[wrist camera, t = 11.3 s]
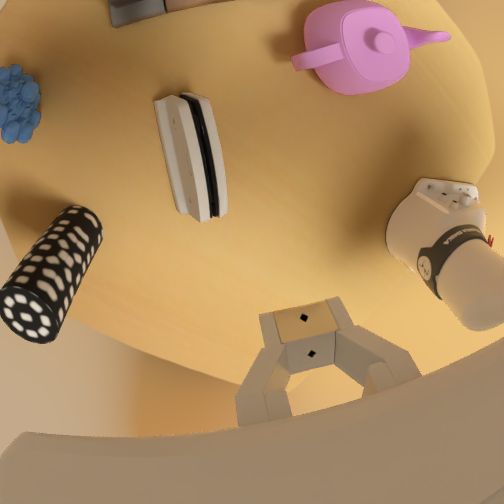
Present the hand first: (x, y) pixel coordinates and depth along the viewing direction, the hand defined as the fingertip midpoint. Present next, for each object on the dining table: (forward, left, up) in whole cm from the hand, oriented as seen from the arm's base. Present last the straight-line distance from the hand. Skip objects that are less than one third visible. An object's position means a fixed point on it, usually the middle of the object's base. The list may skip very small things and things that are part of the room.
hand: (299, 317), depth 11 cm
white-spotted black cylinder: (+26, +8, -34) cm, 44 cm away
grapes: (+25, -14, -34) cm, 45 cm away
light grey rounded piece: (+6, +1, -34) cm, 35 cm away
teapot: (-18, -11, -34) cm, 40 cm away
